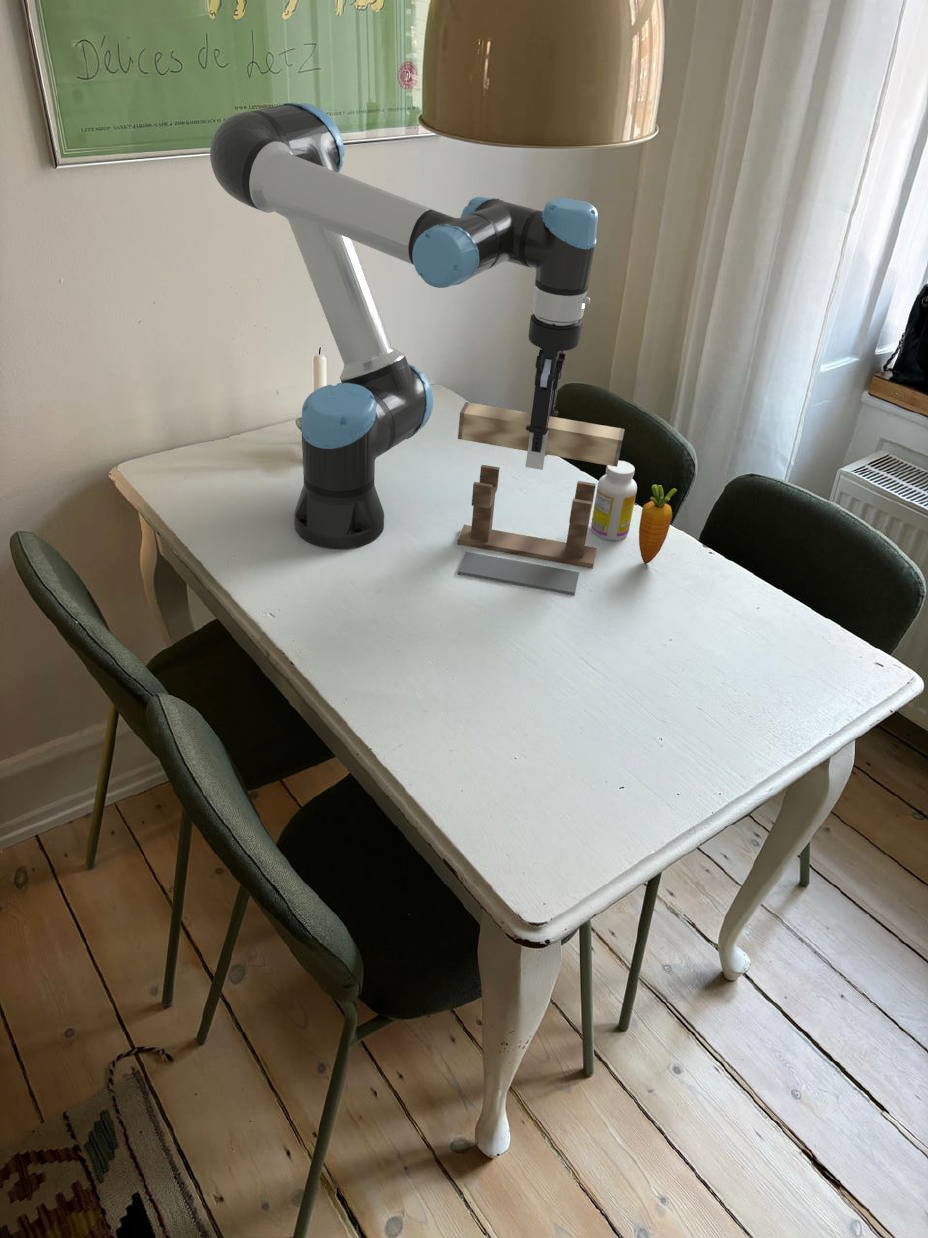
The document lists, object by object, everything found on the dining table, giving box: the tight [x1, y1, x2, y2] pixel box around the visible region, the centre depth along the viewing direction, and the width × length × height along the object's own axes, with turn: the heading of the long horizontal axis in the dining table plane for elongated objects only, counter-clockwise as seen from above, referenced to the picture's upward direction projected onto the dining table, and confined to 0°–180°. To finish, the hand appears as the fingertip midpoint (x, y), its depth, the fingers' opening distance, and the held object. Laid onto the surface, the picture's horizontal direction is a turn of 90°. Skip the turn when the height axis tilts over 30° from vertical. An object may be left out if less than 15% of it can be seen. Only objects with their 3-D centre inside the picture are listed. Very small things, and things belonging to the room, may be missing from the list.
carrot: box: [638, 484, 678, 565], centre depth 159 cm, size 5×5×15 cm
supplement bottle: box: [590, 460, 638, 542], centre depth 167 cm, size 7×7×13 cm
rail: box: [457, 401, 625, 467], centre depth 151 cm, size 25×4×4 cm, turn 78°
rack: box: [456, 464, 598, 570], centre depth 160 cm, size 23×7×12 cm, turn 78°
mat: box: [457, 551, 580, 596], centre depth 158 cm, size 19×6×1 cm, turn 78°
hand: (536, 460), depth 154 cm, fingers closed on rail, 4 cm apart
